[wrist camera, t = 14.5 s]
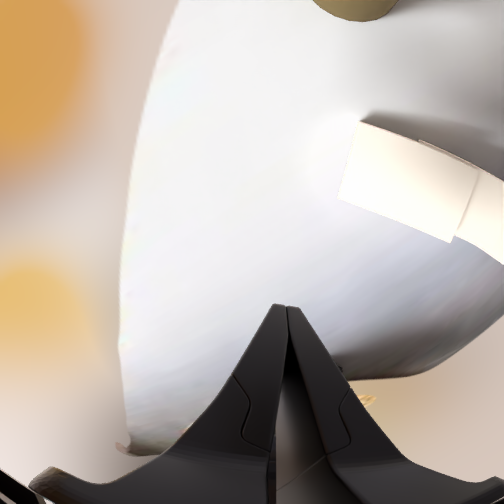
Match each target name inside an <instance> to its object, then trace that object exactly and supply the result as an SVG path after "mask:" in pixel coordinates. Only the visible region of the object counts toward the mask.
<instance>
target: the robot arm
mask: <svg viewBox="0 0 504 504" xmlns="http://www.w3.org/2000/svg"><path fill="white" fill-rule="evenodd" d="M28 487H29V488H28ZM28 487H26V486H25V485H23V484H22V483H20V482H19V481H17V480H16V479H14V478H13V477H11V476H10V475H9V474H7V473H6V472H4V471H3V470H2V469H0V504H46V502H45V501H44V498H45V499H46V500H48V501H50V502H52V503H53V504H504V498H502V497H504V480H503V479H500V478H498V477H496V476H494V477H491V478H489V479H487V480H485V481H483V482H477V483H473V482H466V481H462V480H459V479H456V478H453V477H450V476H447V475H445V474H442V473H439V472H436V471H433V470H431V469H428V468H425V467H423V466H420V465H417V464H415V463H414V462H412V461H410V460H409V459H407V458H406V457H405V456H404V455H403V454H401V452H400V451H399V450H398V449H397V448H396V447H395V445H394V444H393V443H392V442H391V441H390V439H389V438H388V437H387V436H386V434H385V433H384V432H383V431H382V430H381V428H380V427H379V426H378V425H377V423H376V422H375V421H374V420H373V418H372V417H371V416H370V414H369V413H368V412H367V411H366V409H365V408H364V406H363V405H362V403H361V402H360V400H359V399H358V397H357V396H356V394H355V393H354V391H353V389H352V388H350V385H349V383H348V382H347V380H346V379H345V377H344V376H343V374H342V368H341V367H338V366H337V365H336V363H335V362H334V360H333V359H332V357H331V356H330V354H329V352H328V351H327V349H326V348H325V346H324V345H323V343H322V342H321V340H320V339H319V337H318V335H317V334H316V332H315V331H314V329H313V328H312V326H311V325H310V323H309V322H308V320H307V319H306V317H305V315H304V314H303V312H302V311H301V309H300V308H298V307H293V306H285V305H281V304H272V306H271V308H270V309H269V311H268V313H267V315H266V316H265V318H264V320H263V322H262V323H261V325H260V327H259V328H258V330H257V332H256V334H255V335H254V337H253V339H252V340H251V342H250V344H249V345H248V347H247V349H246V350H245V352H244V354H243V355H242V357H241V359H240V360H239V362H238V364H237V365H236V367H235V369H234V370H233V372H232V373H231V376H229V378H228V380H227V381H226V383H225V384H224V386H223V387H222V389H221V390H220V392H219V393H218V395H217V396H216V398H215V399H214V400H213V401H212V402H211V404H210V405H209V406H208V407H207V409H206V410H205V411H204V412H203V413H202V414H201V415H200V416H199V418H198V419H197V420H196V421H195V422H194V423H193V424H192V425H191V426H190V427H189V428H188V429H187V431H186V432H185V433H184V434H183V435H182V436H181V437H180V438H179V439H178V440H177V441H176V442H175V443H174V444H173V445H172V446H171V447H169V448H168V449H167V450H166V451H165V452H163V453H162V454H160V455H159V456H157V457H156V458H154V459H152V460H150V461H149V462H147V463H146V464H144V465H142V466H140V467H138V468H136V469H135V470H133V471H131V472H129V473H127V474H126V475H124V476H122V477H120V478H118V479H116V480H114V481H111V482H109V483H102V484H96V483H90V482H87V481H84V480H82V479H80V478H77V477H75V476H73V475H71V474H69V473H67V472H65V471H63V470H60V469H58V468H55V467H49V468H47V469H46V470H45V471H43V472H42V473H40V474H39V475H37V476H36V477H35V478H34V479H33V480H32V481H31V482H30V484H29V486H28ZM500 498H502V499H500ZM499 499H500V500H499ZM497 500H498V501H497ZM495 501H496V502H495ZM493 502H494V503H493Z"/></svg>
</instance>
